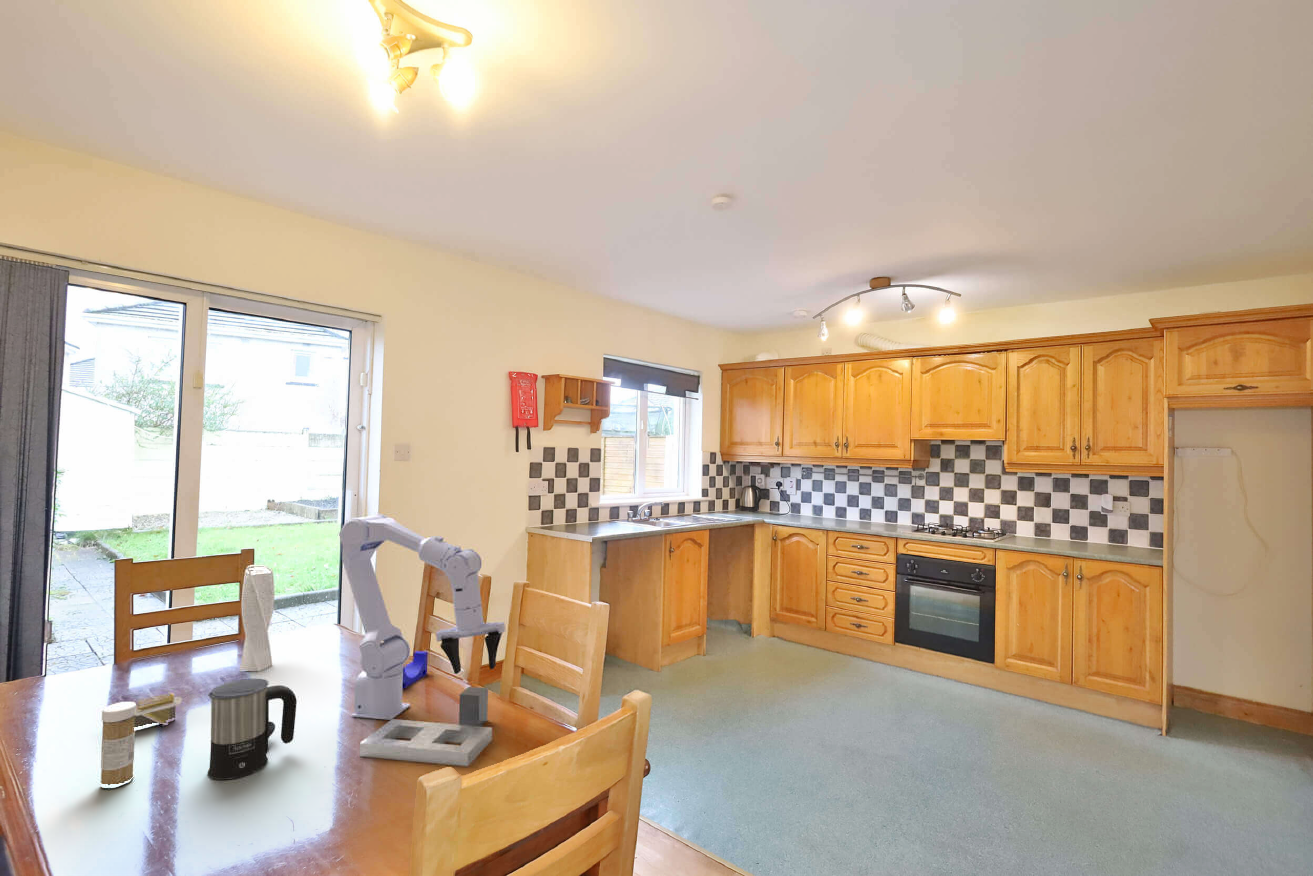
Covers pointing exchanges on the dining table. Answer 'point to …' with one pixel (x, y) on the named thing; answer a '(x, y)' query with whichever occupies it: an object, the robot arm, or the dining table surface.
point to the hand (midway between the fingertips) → (475, 670)
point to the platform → (156, 710)
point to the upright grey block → (473, 706)
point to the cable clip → (415, 668)
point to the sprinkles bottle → (118, 743)
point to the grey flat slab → (427, 742)
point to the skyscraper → (257, 617)
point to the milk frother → (245, 725)
